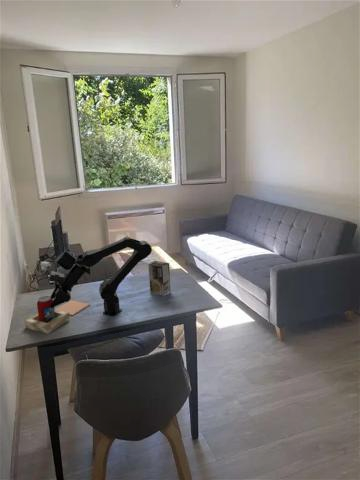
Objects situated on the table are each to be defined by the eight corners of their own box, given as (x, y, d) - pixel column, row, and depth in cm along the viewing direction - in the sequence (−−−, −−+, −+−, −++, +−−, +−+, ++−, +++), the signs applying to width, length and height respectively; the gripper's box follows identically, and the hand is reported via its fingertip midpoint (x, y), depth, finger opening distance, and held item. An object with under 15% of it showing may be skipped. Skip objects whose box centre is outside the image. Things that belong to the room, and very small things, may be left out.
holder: (69, 319, 161) (68, 312, 160) (47, 333, 150) (46, 326, 149) (48, 314, 166) (47, 307, 165) (25, 327, 155) (24, 320, 154)
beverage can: (51, 328, 154) (47, 302, 151) (36, 327, 155) (32, 301, 152) (59, 320, 160) (55, 295, 157) (45, 319, 162) (41, 295, 159)
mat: (89, 305, 175) (89, 304, 175) (72, 315, 164) (72, 314, 164) (71, 301, 180) (70, 300, 180) (53, 311, 170) (53, 310, 169)
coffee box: (171, 292, 187) (169, 262, 182) (164, 296, 181) (162, 266, 177) (157, 289, 191) (155, 260, 187) (149, 293, 186) (147, 263, 182)
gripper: (58, 259, 162) (35, 285, 161) (59, 272, 145) (33, 301, 144) (78, 273, 166) (56, 298, 166) (81, 287, 149) (56, 316, 149)
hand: (50, 303), depth 156 cm, fingers open, 9 cm apart
